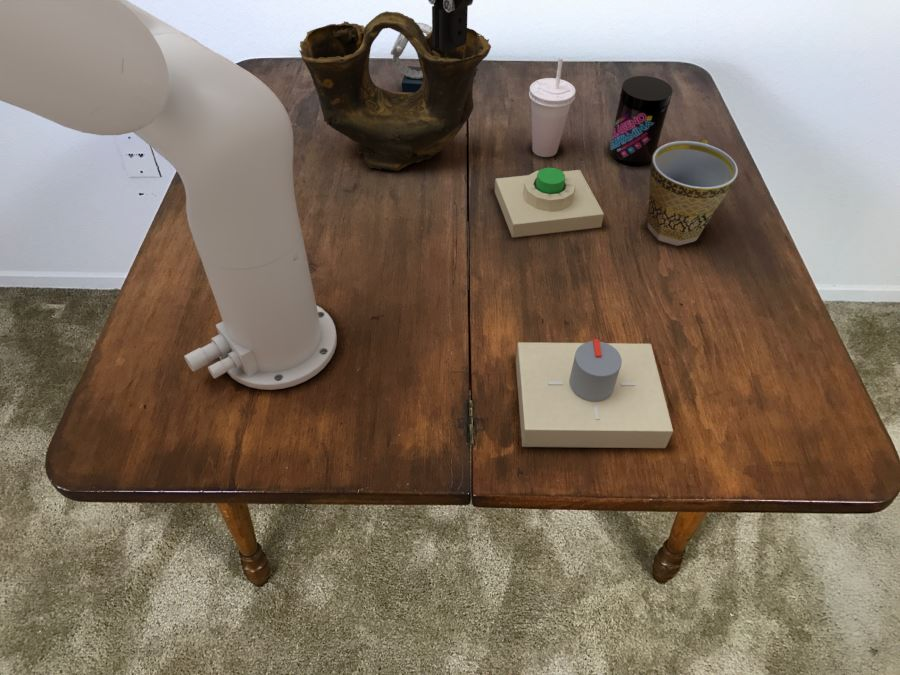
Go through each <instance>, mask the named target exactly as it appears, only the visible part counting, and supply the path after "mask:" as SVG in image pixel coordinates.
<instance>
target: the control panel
mask: <svg viewBox="0 0 900 675" xmlns="http://www.w3.org/2000/svg"><path fill="white" fill-rule="evenodd" d="M584 343H585V342H531V341H530V342H528V341H527V342H523V341H522V342H520V341H519V342H517V345H516V346H517V347H516V353H515V371H516V372H515V373H516V383H517V384H516V385H517V398H518V399H517V400H518V409H519V424H520V437H521V438H520V439H521V447H522V448H599V449H600V448H601V449H602V448H604V449H605V448H607V449H610V448H611V449H666V448H667V446H668V444H669V442H670V440H671V438H672V436H673V433H674V429H673V425H672V421H671V417H670V413H669V409H668V404H667V401H666V396H665V394H664V390H663V386H662V381H661V377H660V373H659V370H658V366H657V362H656V358H655V354H654V350H653V346H652V343H623V342H622V343H621V342H620V343H619V342H618V343H615V342H606V343H607V344H609V345H611V346H613V347H614V348H615V349H616V350H617V351H618V352H619V354H620V356H621V359H622V364H621V368H620V371H619V374H618V377H617V381H616V384H615V387H614V390H613V393H612V394H611V395H610V396H609V397H608V398H606V399H604V400H602V401H588V400H585V399H582V398H580V397H579V396H577V395H576V394H575V393H574V392H573V390H572V389H571V387H570V382H569V380H570V375H571V370H572V366H573V362H574V357H575V353H576V350H577V349H578V347H580V346H581V345H582V344H584Z"/></svg>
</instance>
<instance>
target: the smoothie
mask: <svg viewBox="0 0 900 675" xmlns="http://www.w3.org/2000/svg"><path fill="white" fill-rule="evenodd" d="M563 60H564V58H563V57H558V60H557V61H558V62H557V67H556V77H545V78H540V79H537V80H535V81H533V82H532V83H531V84H530V85H529V91H528V97H529V99H530V110H531V111H530V112H531V114H530V115H531V151H532V152H533V154H534V155H536V156H537V157H541V158H550V157H554V156H556V154H557V153H558V151H559V147H560V144H561V140H562V138H563V133H564V130H565V127H566V122H567V119H568V116H569V112H570V108H571V106H572V103H573V102H574V101H575V100H576V99H575V98H576V88H575V86H574V85H573V84H572V83H571V82H568V81H567V80H564V79H562V78H561V75H562V69H563Z"/></svg>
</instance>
